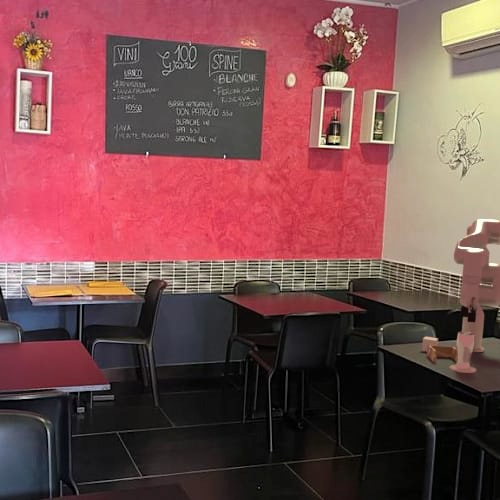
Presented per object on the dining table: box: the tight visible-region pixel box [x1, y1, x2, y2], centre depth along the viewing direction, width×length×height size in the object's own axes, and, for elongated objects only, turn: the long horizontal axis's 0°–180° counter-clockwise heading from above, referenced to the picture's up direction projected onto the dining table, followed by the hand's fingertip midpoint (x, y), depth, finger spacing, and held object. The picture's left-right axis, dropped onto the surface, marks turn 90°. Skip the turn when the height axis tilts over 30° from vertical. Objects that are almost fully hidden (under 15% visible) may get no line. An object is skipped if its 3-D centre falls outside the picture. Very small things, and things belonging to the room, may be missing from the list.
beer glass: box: [455, 331, 474, 370], centre depth 291 cm, size 7×7×15 cm
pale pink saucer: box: [448, 364, 477, 374], centre depth 292 cm, size 11×11×1 cm
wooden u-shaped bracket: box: [426, 345, 457, 363], centre depth 307 cm, size 12×12×5 cm
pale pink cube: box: [421, 336, 439, 353], centre depth 322 cm, size 6×6×6 cm
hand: (467, 319), depth 290 cm, fingers open, 9 cm apart
